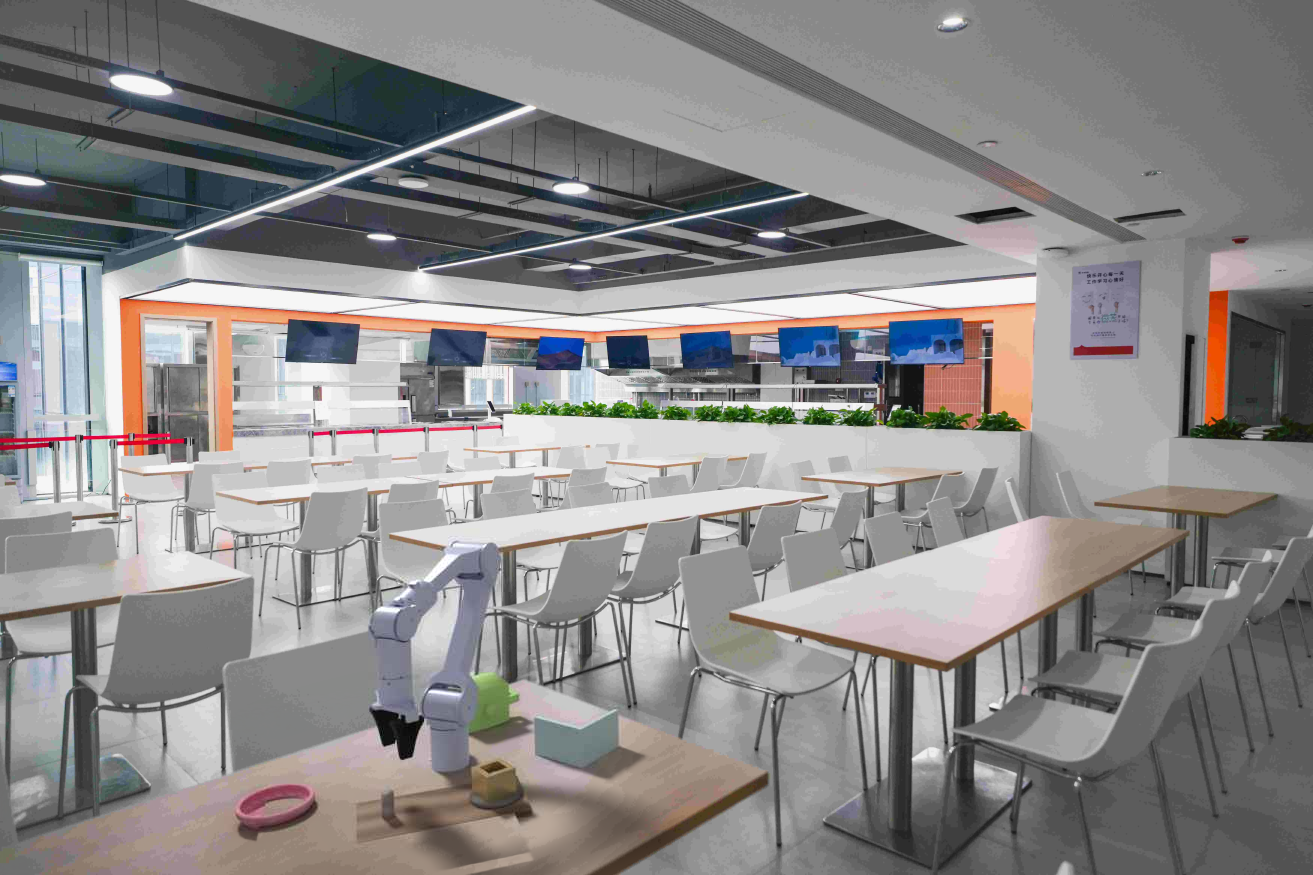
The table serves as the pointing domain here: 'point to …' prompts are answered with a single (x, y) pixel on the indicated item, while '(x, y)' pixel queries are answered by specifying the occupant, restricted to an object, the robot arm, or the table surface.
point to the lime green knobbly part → (491, 701)
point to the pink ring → (254, 803)
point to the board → (432, 810)
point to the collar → (493, 780)
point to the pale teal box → (576, 739)
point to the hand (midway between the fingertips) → (397, 751)
